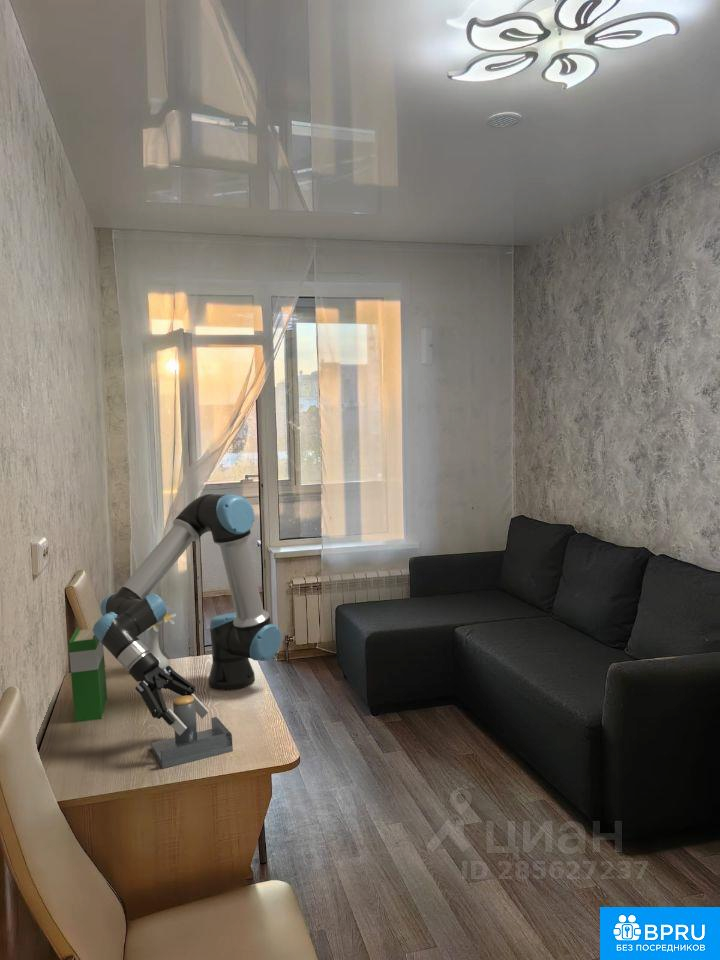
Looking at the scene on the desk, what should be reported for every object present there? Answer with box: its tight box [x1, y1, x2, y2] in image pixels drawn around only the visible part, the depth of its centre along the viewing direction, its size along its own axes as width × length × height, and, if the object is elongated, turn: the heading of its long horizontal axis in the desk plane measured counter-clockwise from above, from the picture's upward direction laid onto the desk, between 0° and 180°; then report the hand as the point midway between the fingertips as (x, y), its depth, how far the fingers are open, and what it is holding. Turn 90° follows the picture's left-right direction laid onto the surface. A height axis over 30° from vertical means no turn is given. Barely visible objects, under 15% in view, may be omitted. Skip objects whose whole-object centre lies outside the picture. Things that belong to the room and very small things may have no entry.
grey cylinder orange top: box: [172, 695, 198, 745], centre depth 193 cm, size 6×6×12 cm
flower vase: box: [145, 605, 177, 670], centre depth 258 cm, size 12×18×24 cm
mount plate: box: [150, 716, 234, 769], centre depth 193 cm, size 18×14×4 cm
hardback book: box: [68, 627, 108, 723], centre depth 225 cm, size 18×7×24 cm, turn 14°
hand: (194, 723), depth 192 cm, fingers open, 10 cm apart
